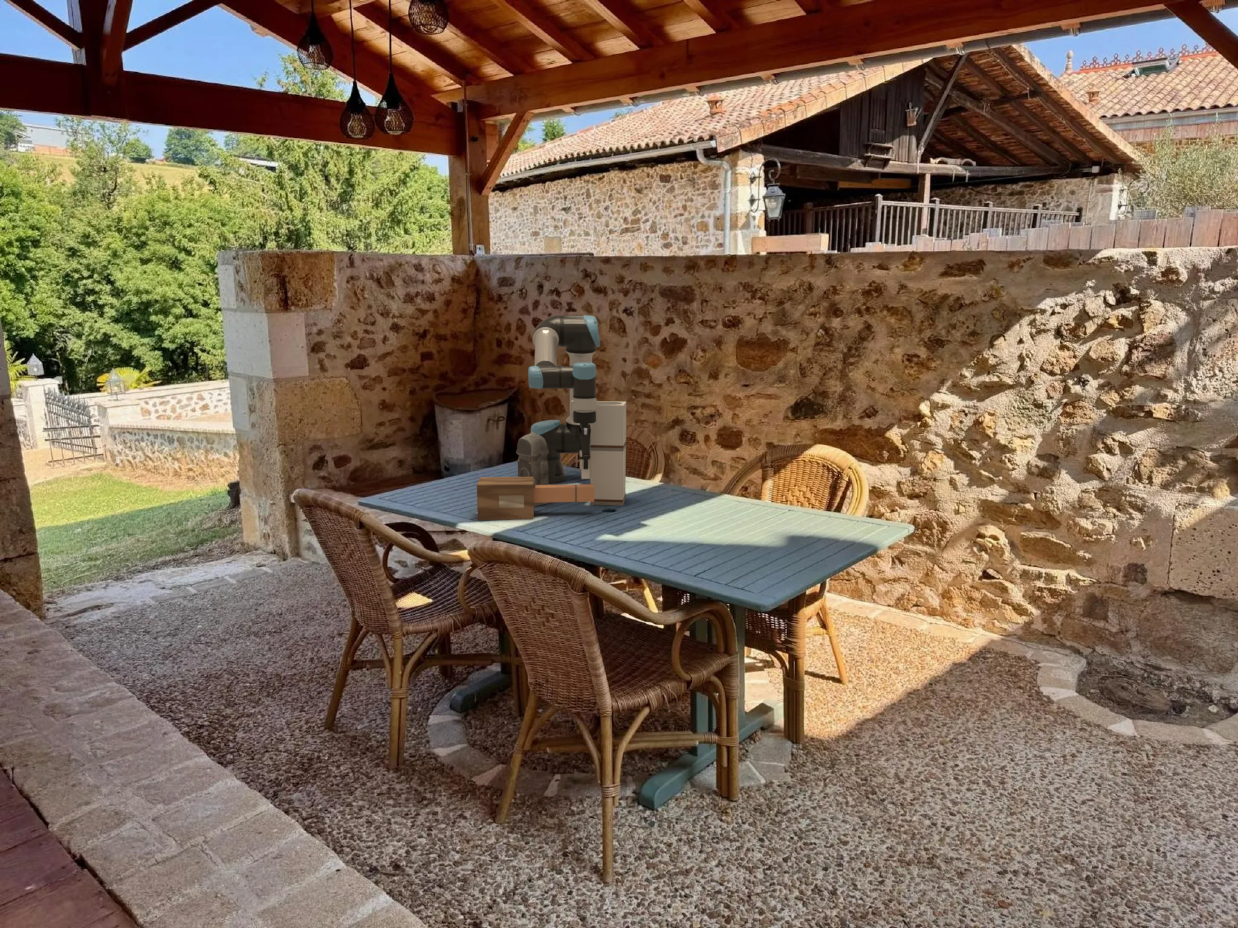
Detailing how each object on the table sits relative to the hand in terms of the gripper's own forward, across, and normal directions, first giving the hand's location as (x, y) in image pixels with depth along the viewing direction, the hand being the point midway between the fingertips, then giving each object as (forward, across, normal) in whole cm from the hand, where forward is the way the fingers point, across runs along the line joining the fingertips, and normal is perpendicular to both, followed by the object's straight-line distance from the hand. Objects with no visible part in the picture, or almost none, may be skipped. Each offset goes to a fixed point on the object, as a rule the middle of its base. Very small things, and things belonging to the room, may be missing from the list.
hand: (584, 473), depth 273 cm
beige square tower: (+14, -15, +9) cm, 23 cm away
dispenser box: (+13, +1, -26) cm, 29 cm away
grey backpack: (+14, -16, -17) cm, 27 cm away
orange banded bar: (+9, +1, -10) cm, 13 cm away
